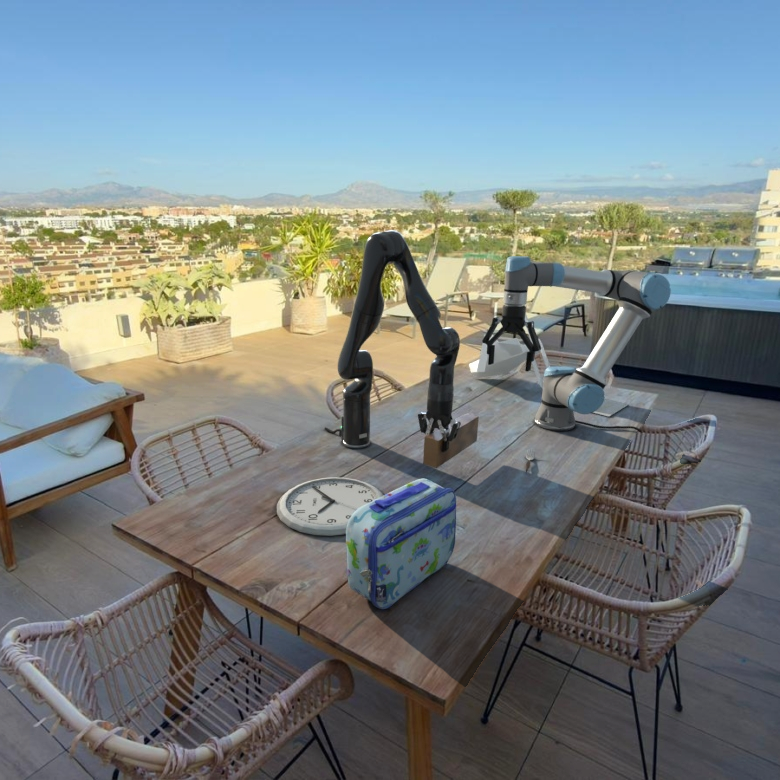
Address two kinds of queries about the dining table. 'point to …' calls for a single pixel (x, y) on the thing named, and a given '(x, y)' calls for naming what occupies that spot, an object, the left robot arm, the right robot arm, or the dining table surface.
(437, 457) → the bar
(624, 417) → the dining table surface
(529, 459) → the fork
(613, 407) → the invitation card
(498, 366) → the white plastic object
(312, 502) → the wall clock
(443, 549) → the lunch box
